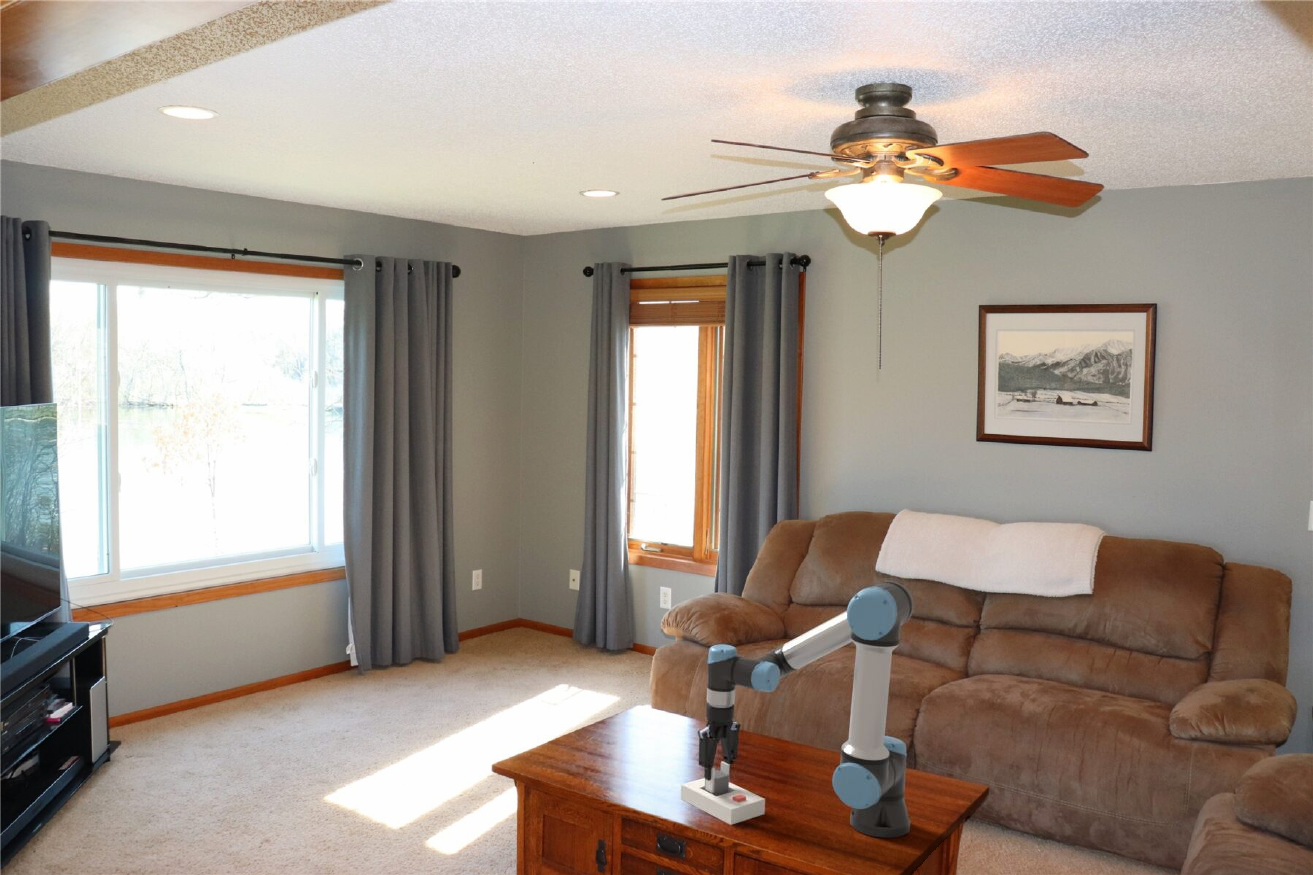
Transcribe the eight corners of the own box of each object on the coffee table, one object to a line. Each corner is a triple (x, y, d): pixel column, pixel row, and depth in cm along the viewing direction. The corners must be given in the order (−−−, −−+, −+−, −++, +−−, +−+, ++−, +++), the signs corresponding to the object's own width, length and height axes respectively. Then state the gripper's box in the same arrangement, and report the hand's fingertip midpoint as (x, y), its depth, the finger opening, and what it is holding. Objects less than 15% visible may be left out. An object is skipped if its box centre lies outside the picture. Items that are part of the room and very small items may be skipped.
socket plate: (764, 813, 274) (765, 795, 274) (730, 824, 267) (731, 806, 267) (714, 789, 290) (714, 772, 290) (680, 798, 282) (681, 781, 282)
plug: (727, 804, 280) (729, 775, 280) (715, 808, 277) (716, 778, 277) (716, 798, 284) (717, 769, 283) (704, 802, 281) (705, 773, 280)
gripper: (735, 694, 287) (731, 777, 288) (686, 705, 276) (682, 791, 277) (754, 701, 281) (750, 786, 282) (704, 712, 270) (701, 800, 272)
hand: (717, 788), depth 280 cm, fingers closed on plug, 4 cm apart
